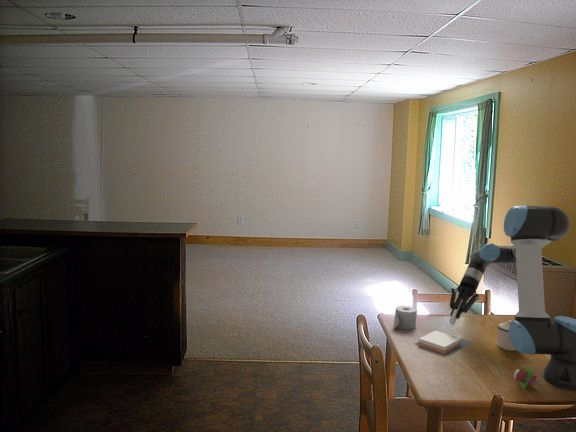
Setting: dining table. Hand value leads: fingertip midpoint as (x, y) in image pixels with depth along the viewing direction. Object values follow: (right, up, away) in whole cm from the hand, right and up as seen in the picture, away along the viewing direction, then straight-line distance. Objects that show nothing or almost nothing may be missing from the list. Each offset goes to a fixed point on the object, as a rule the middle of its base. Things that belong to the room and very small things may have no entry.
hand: (451, 323), depth 218 cm
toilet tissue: (-18, -5, +16) cm, 24 cm away
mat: (-4, -8, -3) cm, 10 cm away
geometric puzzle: (+13, -14, -41) cm, 45 cm away
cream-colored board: (-2, -6, -1) cm, 6 cm away
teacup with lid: (+23, -9, -4) cm, 25 cm away
